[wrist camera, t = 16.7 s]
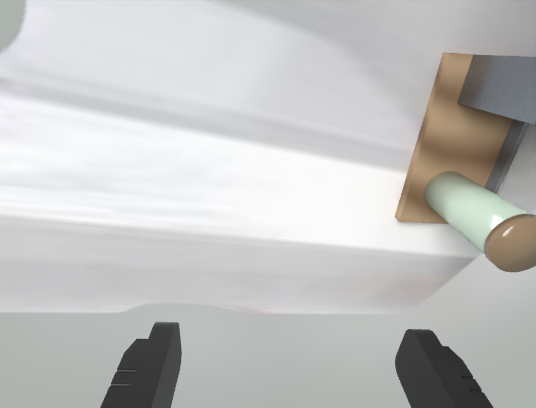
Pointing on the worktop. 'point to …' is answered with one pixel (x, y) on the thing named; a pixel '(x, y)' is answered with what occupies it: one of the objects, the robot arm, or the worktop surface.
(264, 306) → the worktop surface
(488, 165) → the shelf
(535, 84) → the tea tin
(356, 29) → the worktop surface
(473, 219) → the jar
